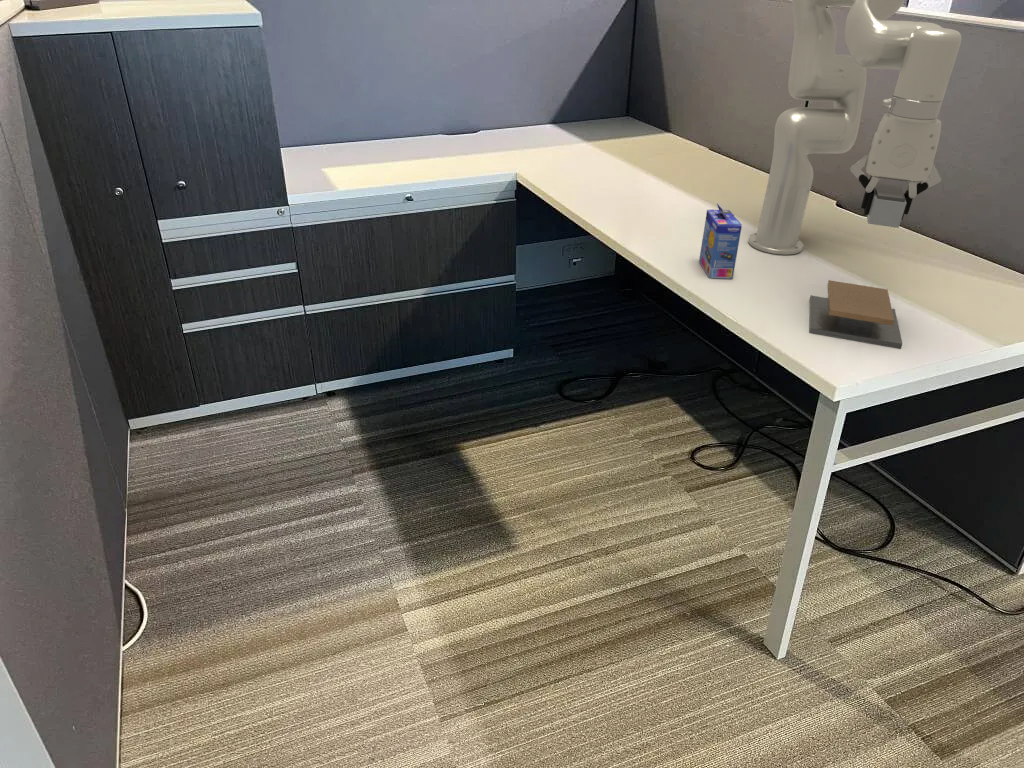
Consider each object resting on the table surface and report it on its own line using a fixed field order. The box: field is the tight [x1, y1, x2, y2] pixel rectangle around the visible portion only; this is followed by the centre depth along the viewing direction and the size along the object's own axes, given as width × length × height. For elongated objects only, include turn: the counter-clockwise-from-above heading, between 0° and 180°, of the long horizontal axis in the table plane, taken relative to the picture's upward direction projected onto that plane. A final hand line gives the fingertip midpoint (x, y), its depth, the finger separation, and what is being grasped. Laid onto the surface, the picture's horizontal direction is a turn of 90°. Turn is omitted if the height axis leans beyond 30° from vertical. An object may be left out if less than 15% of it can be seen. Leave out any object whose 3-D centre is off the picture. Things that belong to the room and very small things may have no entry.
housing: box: [866, 182, 906, 229], centre depth 136 cm, size 5×9×5 cm, turn 161°
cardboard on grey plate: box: [808, 279, 903, 350], centre depth 146 cm, size 16×16×5 cm
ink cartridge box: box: [698, 203, 743, 280], centre depth 164 cm, size 10×6×14 cm, turn 2°
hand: (882, 214), depth 136 cm, fingers closed on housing, 5 cm apart
